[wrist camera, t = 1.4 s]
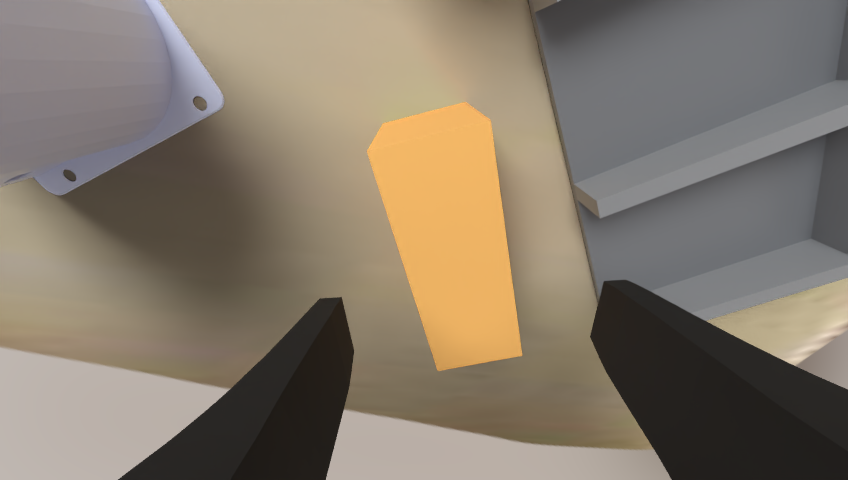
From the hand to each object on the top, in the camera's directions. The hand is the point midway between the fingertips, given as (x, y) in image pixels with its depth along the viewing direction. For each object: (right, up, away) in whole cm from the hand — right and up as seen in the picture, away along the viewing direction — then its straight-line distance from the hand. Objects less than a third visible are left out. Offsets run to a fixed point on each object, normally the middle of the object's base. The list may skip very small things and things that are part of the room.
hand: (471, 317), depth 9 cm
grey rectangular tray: (+10, +6, +4) cm, 13 cm away
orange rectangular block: (0, +3, +6) cm, 7 cm away
